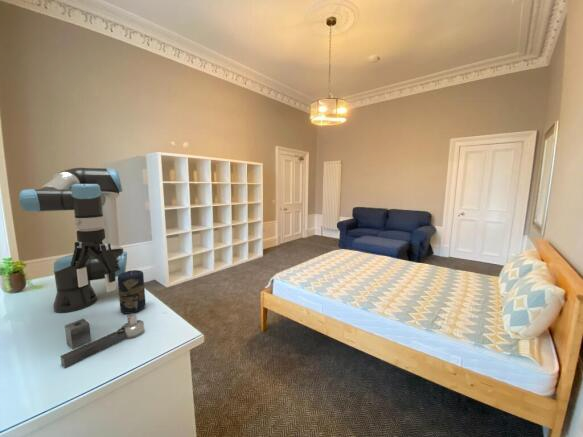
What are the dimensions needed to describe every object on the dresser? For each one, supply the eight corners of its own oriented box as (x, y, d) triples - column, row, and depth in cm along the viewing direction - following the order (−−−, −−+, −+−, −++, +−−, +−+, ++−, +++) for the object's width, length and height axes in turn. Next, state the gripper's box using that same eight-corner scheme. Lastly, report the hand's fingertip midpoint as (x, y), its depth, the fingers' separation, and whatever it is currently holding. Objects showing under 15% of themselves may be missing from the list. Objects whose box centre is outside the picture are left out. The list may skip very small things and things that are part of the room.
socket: (67, 344, 85) (64, 324, 84) (85, 336, 90) (83, 318, 89) (72, 349, 83) (70, 329, 82) (91, 341, 87) (89, 322, 86)
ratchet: (59, 361, 77) (56, 340, 76) (138, 325, 97) (136, 308, 96) (67, 370, 73) (64, 348, 72) (147, 331, 93) (146, 313, 92)
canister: (118, 317, 103) (114, 276, 101) (122, 307, 111) (118, 269, 109) (145, 311, 107) (142, 272, 105) (146, 302, 116) (143, 265, 113)
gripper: (52, 228, 84) (60, 287, 87) (106, 233, 77) (112, 297, 80) (77, 225, 91) (83, 279, 94) (128, 229, 84) (133, 288, 87)
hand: (97, 288), depth 87 cm, fingers open, 13 cm apart
